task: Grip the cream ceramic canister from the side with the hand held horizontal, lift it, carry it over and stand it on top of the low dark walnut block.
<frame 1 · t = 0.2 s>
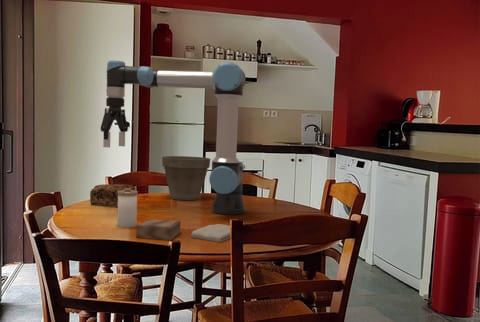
hand: (114, 146, 205), 28 cm above the table, tool pointing down, fingers open, 13 cm apart
washcloth: (218, 237, 168), on the table
canister: (126, 225, 178), on the table
plant pot: (185, 198, 247), on the table
bread: (112, 205, 219), on the table
base block: (158, 235, 165), on the table
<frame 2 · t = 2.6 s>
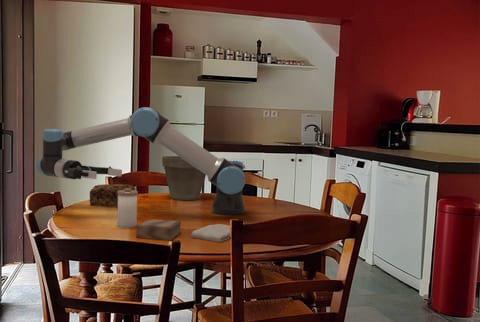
hand: (108, 174, 181), 19 cm above the table, tool horizontal, fingers open, 13 cm apart
nothing on the table moved.
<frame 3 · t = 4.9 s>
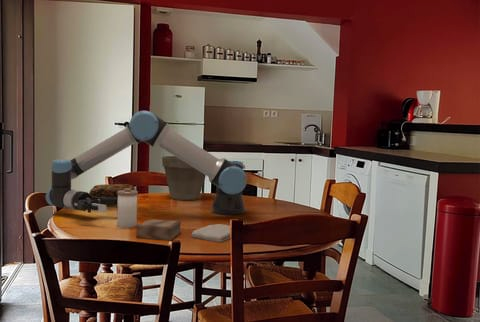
hand: (118, 206, 179), 7 cm above the table, tool horizontal, fingers open, 13 cm apart
nothing on the table moved.
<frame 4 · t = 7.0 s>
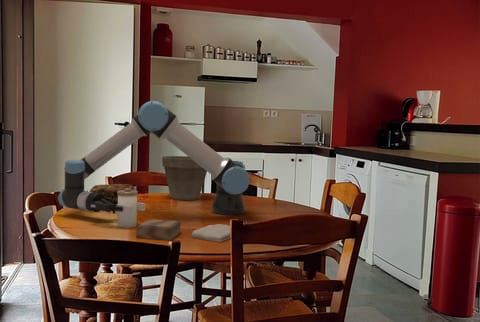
hand: (137, 208, 175), 7 cm above the table, tool horizontal, fingers closed on canister, 7 cm apart
canister: (126, 225, 178), on the table, touching gripper
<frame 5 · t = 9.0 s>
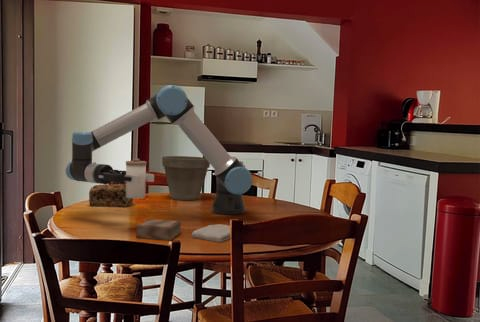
hand: (146, 179, 170), 19 cm above the table, tool horizontal, fingers closed on canister, 7 cm apart
canister: (135, 196, 173), point 12 cm above the table, touching gripper
when the fingers open (12 cm above the table, at t = 11.4 s): canister drops 1 cm, resting on base block.
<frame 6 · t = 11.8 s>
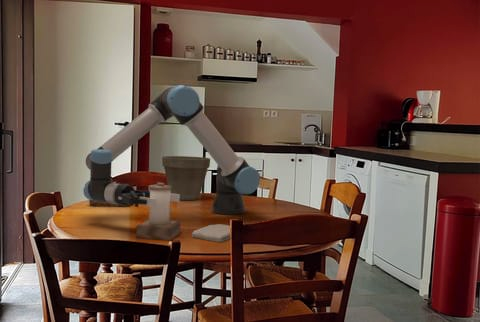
hand: (167, 200, 162), 13 cm above the table, tool horizontal, fingers open, 13 cm apart
canister: (159, 222, 164), point 4 cm above the table, touching base block
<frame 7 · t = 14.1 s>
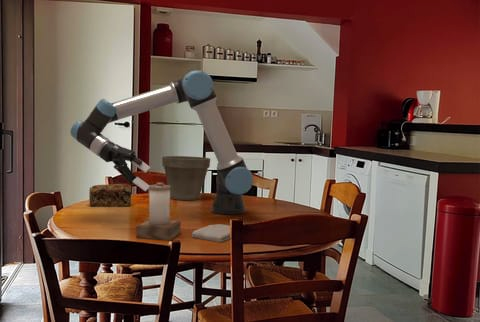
hand: (148, 179, 178), 17 cm above the table, tool tilted 60°, fingers open, 13 cm apart
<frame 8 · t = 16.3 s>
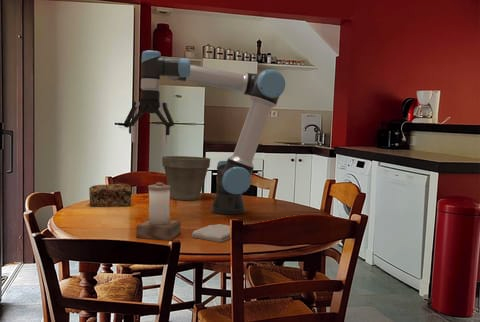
hand: (148, 142, 192), 31 cm above the table, tool pointing down, fingers open, 13 cm apart
at the end: canister inside the target area on the base block (0.1 cm from its centre), point 4.3 cm above the base block's base; canister tilted 1°; the gripper is holding nothing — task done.
